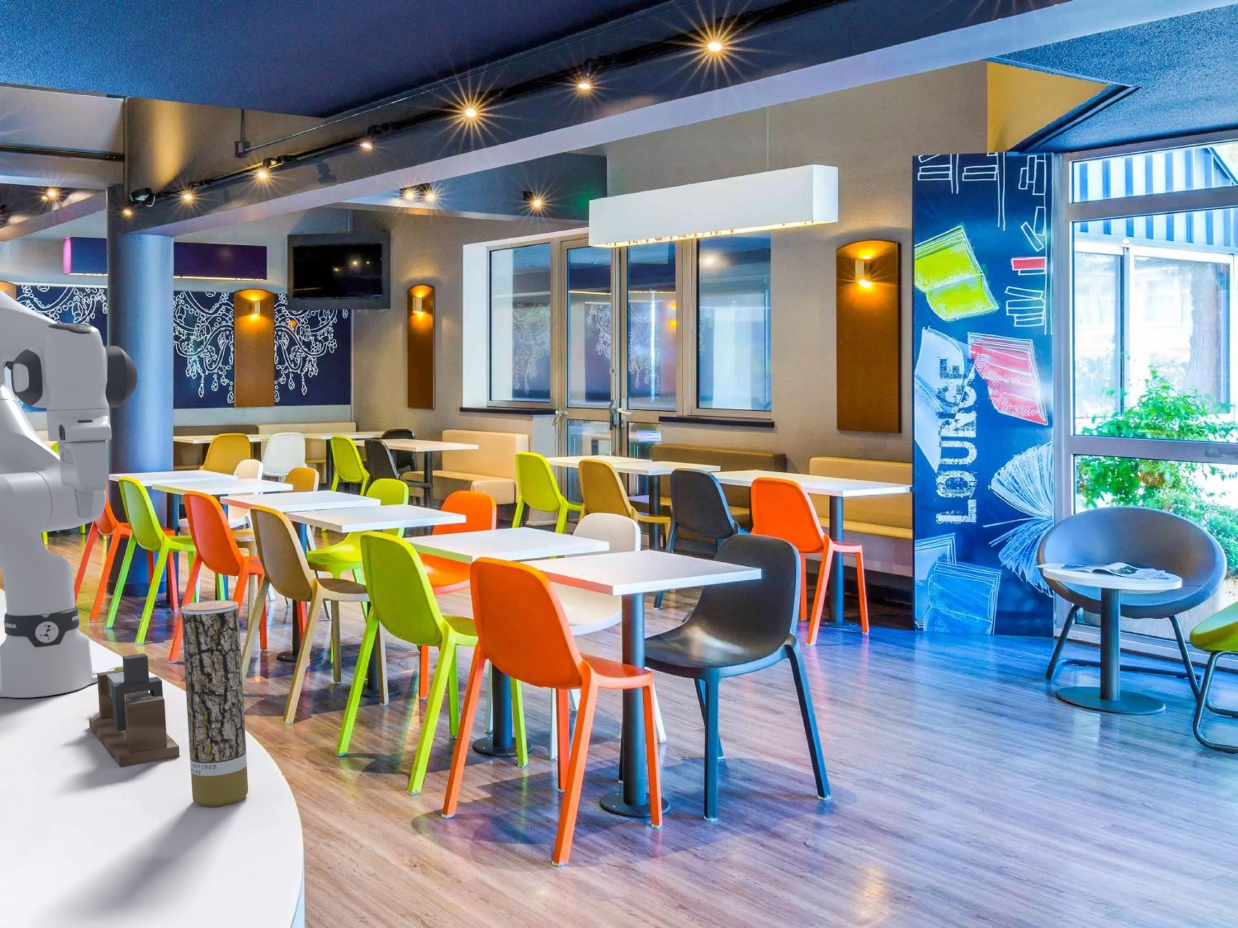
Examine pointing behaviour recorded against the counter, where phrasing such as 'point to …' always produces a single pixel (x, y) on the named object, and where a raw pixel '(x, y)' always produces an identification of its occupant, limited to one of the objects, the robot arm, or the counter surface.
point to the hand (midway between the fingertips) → (85, 517)
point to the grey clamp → (133, 686)
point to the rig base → (133, 729)
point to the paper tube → (215, 702)
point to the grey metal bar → (119, 677)
